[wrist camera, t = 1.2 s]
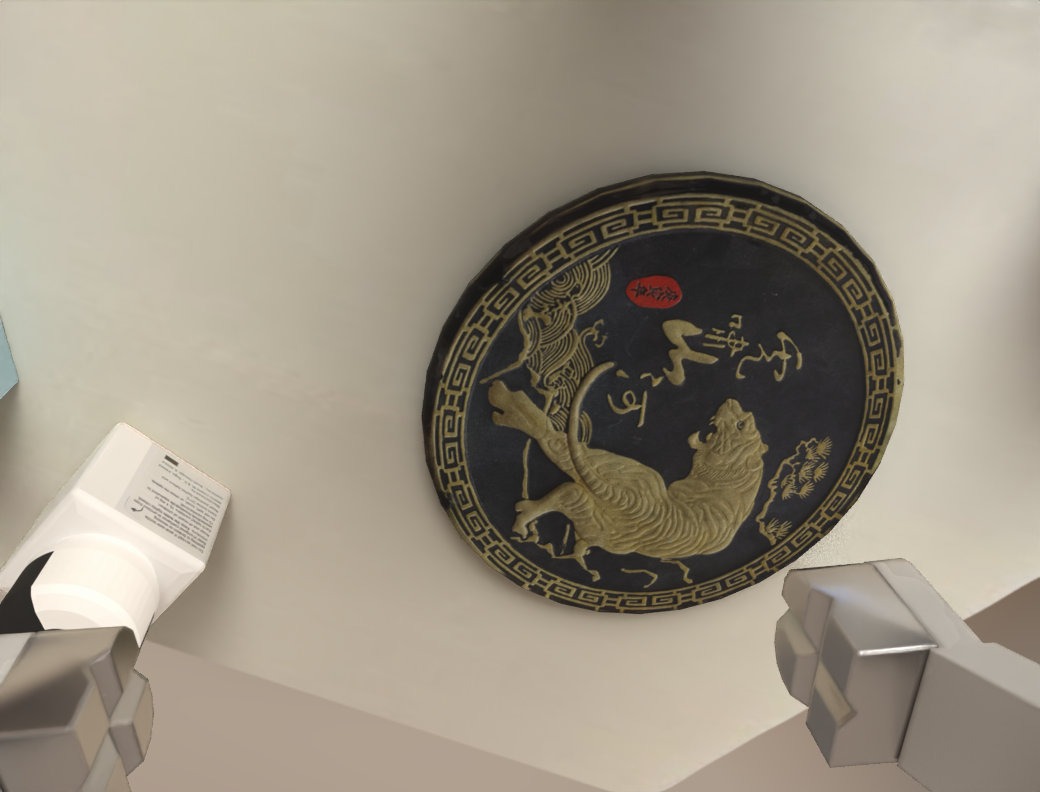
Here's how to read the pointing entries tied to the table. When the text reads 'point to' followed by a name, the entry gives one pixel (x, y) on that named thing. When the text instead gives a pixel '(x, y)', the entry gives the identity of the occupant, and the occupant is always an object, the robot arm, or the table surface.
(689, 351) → the decorative plate
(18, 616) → the container
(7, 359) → the box
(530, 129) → the table surface
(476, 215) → the table surface
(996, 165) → the table surface
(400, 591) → the table surface
